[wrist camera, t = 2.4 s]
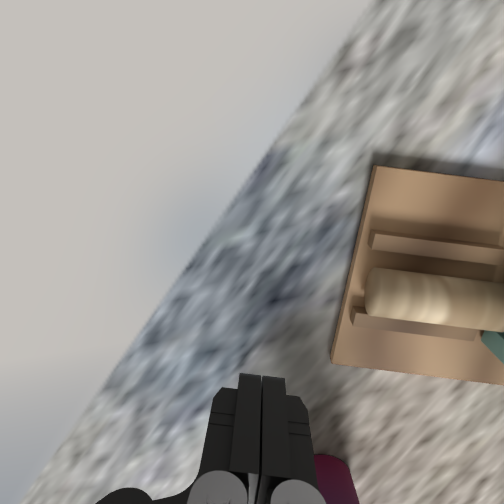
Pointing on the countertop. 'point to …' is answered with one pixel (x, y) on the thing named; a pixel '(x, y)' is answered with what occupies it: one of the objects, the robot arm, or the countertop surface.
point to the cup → (334, 480)
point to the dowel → (435, 299)
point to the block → (494, 343)
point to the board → (423, 271)
